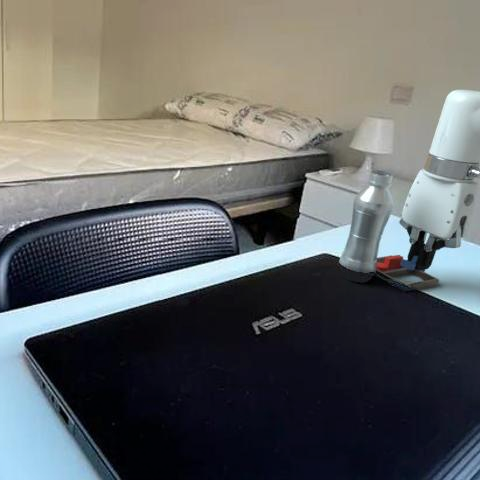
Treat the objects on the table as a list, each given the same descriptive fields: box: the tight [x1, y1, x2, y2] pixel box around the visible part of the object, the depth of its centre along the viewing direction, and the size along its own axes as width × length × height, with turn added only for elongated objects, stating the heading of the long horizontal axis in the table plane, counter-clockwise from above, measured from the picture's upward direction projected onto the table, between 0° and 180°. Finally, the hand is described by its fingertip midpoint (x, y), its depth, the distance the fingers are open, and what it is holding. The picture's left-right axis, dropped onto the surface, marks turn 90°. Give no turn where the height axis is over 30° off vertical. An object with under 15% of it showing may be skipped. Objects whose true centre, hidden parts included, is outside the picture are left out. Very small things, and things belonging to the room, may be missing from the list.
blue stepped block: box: [400, 255, 426, 272], centre depth 89 cm, size 6×2×2 cm, turn 117°
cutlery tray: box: [375, 255, 440, 291], centre depth 92 cm, size 9×11×2 cm
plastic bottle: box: [338, 169, 395, 273], centre depth 87 cm, size 6×7×20 cm
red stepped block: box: [376, 254, 404, 272], centre depth 94 cm, size 6×2×2 cm, turn 116°
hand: (417, 266), depth 90 cm, fingers closed on blue stepped block, 1 cm apart
